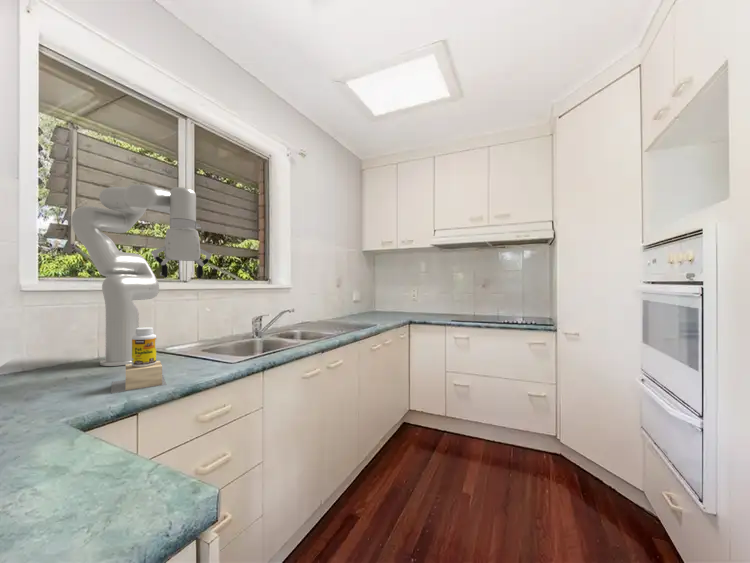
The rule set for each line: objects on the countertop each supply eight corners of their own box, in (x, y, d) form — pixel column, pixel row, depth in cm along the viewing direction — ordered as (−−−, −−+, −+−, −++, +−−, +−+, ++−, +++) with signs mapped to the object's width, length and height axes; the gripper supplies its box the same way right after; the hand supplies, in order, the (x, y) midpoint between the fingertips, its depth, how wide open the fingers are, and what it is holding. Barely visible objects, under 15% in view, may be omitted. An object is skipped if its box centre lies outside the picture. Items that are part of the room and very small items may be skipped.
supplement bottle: (130, 368, 89) (130, 330, 89) (132, 364, 94) (132, 327, 94) (155, 366, 92) (156, 328, 92) (156, 361, 96) (156, 326, 96)
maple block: (125, 382, 93) (125, 364, 93) (159, 377, 98) (159, 360, 98) (125, 390, 87) (125, 370, 87) (162, 384, 92) (162, 366, 92)
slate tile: (112, 385, 94) (112, 381, 94) (162, 378, 101) (162, 374, 101) (110, 397, 84) (110, 393, 84) (166, 388, 91) (166, 384, 91)
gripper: (209, 230, 119) (209, 278, 119) (150, 225, 109) (150, 277, 109) (213, 227, 113) (213, 278, 113) (152, 221, 103) (151, 277, 103)
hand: (182, 278), depth 111 cm, fingers open, 9 cm apart
